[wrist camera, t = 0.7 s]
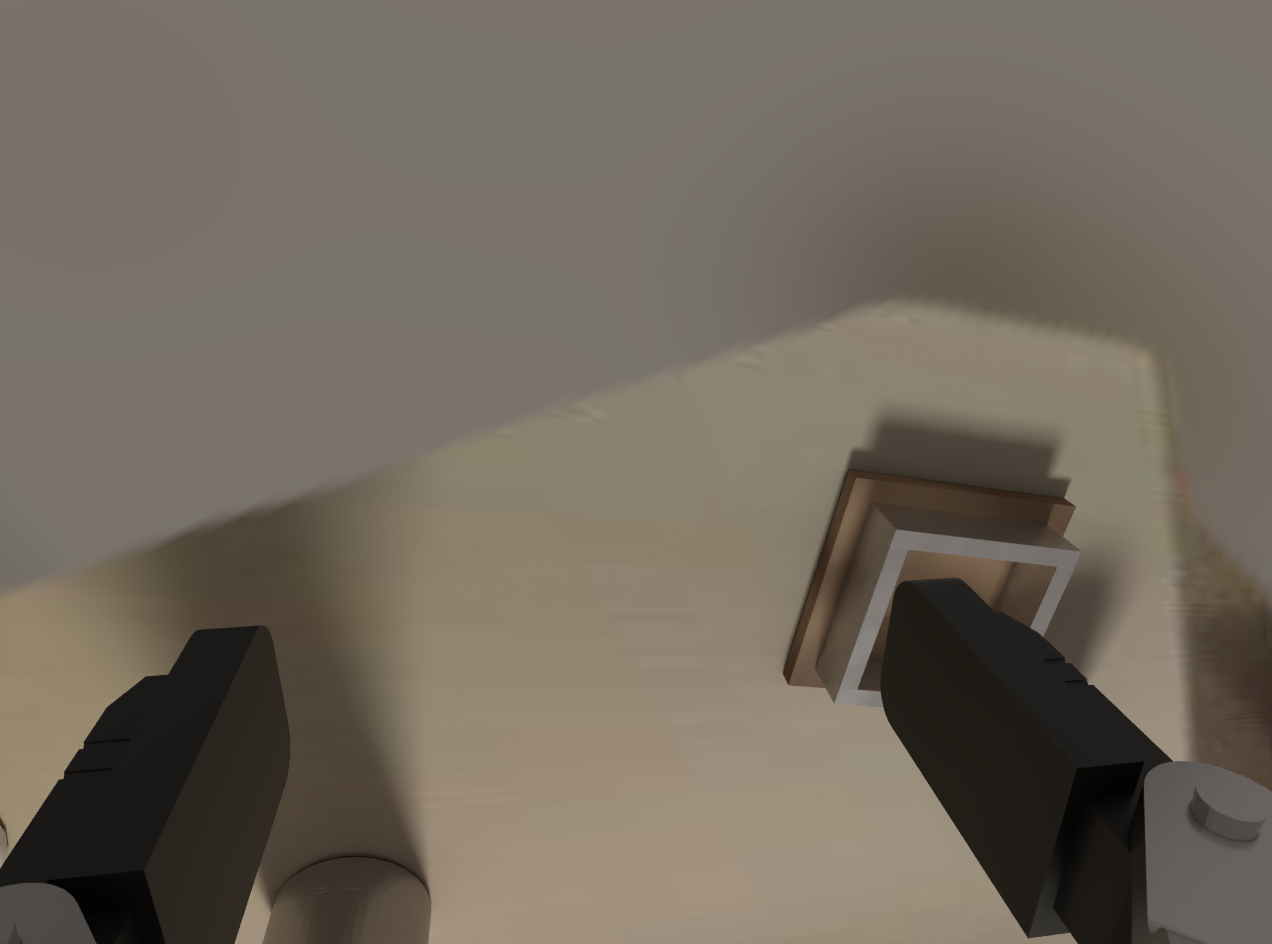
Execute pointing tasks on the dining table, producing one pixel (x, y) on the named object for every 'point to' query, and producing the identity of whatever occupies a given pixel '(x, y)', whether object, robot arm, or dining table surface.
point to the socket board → (917, 565)
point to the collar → (899, 529)
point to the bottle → (3, 846)
